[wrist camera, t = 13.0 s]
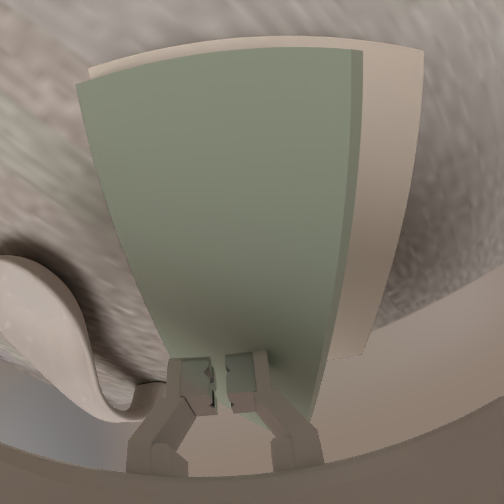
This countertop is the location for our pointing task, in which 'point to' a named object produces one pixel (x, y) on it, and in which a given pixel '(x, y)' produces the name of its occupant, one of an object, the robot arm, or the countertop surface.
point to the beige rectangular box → (369, 170)
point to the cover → (235, 200)
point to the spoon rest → (60, 339)
